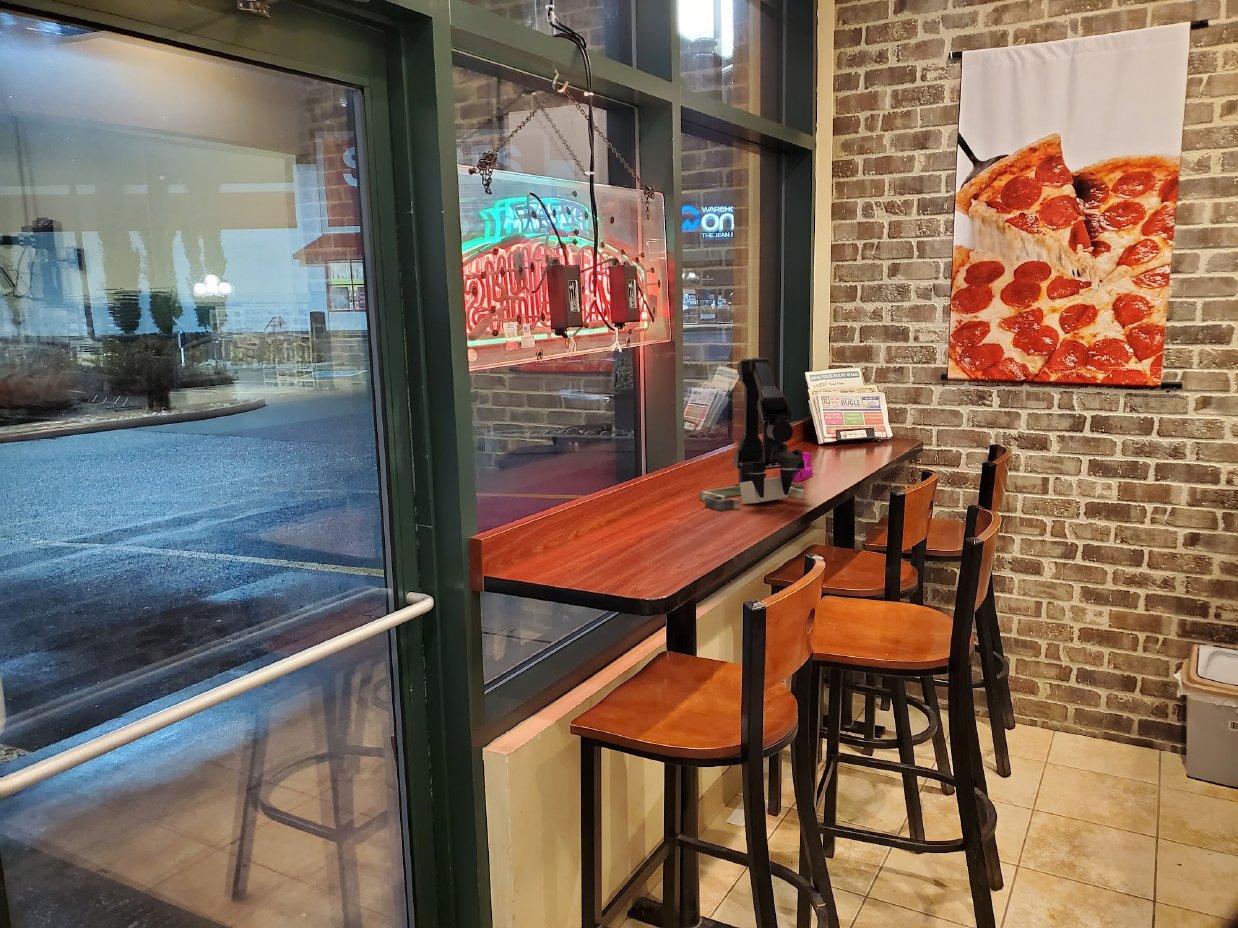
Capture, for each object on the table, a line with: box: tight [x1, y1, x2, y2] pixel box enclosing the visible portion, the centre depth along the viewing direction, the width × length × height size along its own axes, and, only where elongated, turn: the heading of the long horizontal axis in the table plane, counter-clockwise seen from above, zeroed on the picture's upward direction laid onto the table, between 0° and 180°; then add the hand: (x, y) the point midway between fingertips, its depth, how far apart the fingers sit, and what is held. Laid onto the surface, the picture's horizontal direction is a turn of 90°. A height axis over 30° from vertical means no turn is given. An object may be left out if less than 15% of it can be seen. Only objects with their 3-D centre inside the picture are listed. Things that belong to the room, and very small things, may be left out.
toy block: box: [779, 451, 813, 482], centre depth 302 cm, size 15×6×8 cm, turn 144°
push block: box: [740, 476, 789, 505], centre depth 265 cm, size 6×12×6 cm, turn 124°
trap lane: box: [698, 482, 806, 511], centre depth 270 cm, size 17×34×2 cm, turn 121°
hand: (773, 496), depth 261 cm, fingers closed on push block, 8 cm apart
